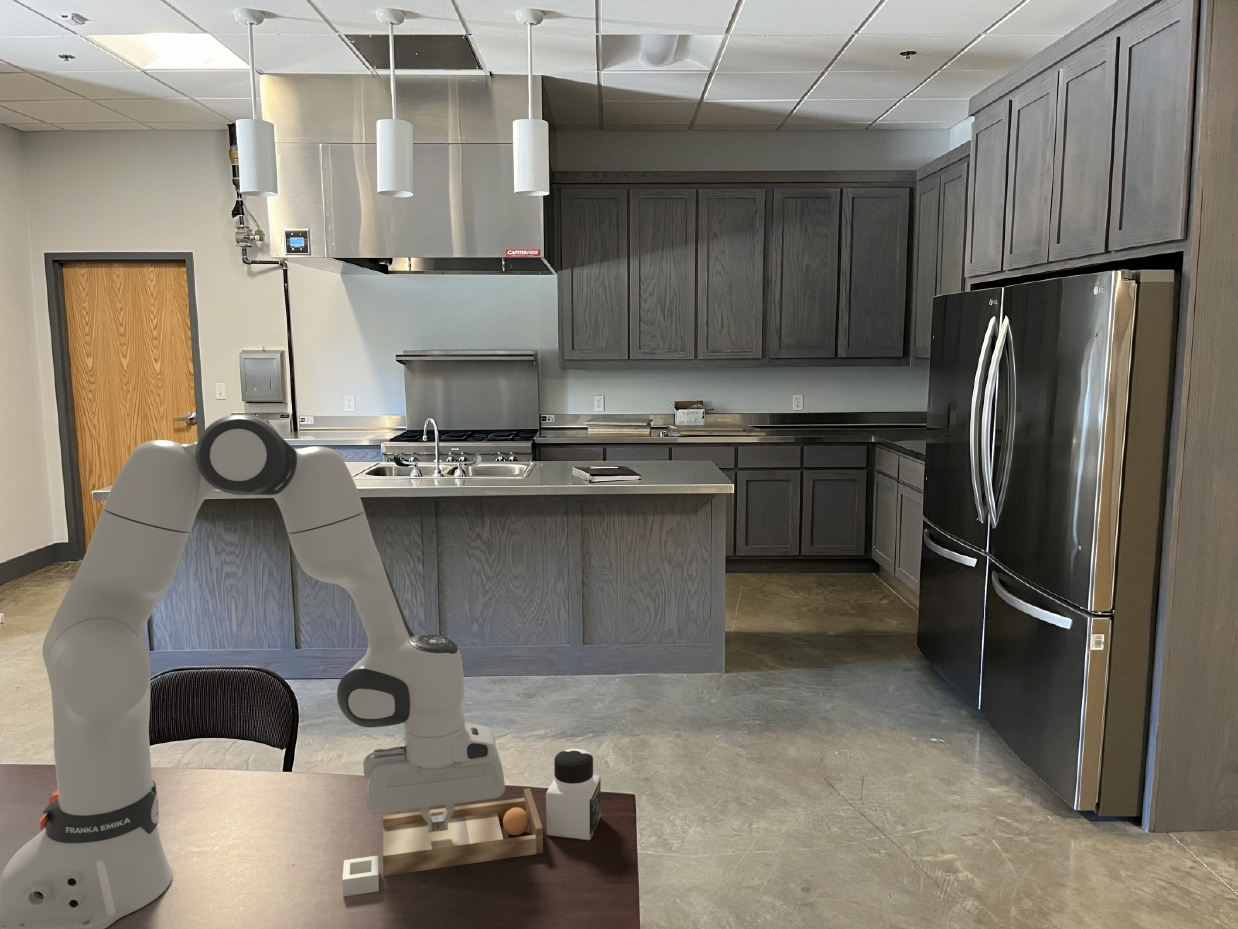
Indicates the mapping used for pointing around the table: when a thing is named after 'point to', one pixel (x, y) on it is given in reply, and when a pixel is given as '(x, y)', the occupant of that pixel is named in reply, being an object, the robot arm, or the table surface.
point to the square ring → (360, 876)
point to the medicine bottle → (573, 796)
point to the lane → (457, 837)
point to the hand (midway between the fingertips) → (437, 829)
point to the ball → (516, 821)
